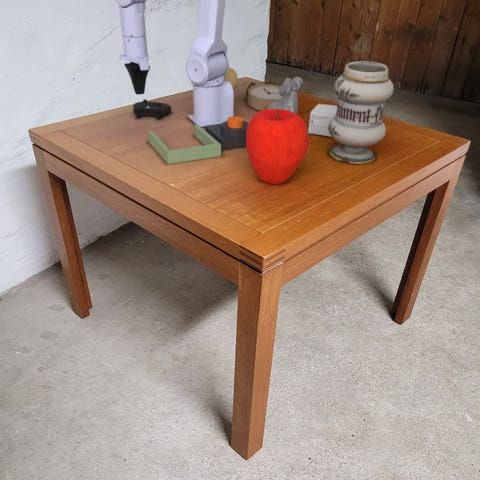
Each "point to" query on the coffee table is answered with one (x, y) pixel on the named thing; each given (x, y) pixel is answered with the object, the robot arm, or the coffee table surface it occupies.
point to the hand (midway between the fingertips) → (139, 93)
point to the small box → (321, 119)
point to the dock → (190, 153)
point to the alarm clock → (261, 94)
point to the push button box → (228, 135)
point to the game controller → (151, 109)
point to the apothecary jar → (359, 111)
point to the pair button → (235, 122)
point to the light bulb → (231, 78)
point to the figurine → (288, 95)
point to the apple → (276, 144)
